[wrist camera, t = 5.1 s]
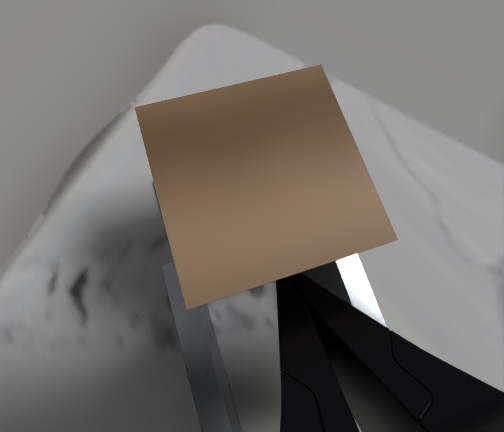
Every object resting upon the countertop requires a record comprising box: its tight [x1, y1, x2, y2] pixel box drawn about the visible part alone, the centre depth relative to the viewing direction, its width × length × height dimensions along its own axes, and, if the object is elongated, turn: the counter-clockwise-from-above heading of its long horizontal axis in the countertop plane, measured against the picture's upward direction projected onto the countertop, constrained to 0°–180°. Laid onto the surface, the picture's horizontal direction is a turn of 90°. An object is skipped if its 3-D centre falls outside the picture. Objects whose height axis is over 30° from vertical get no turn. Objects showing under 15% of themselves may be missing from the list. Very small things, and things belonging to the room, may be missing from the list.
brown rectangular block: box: [135, 65, 398, 310], centre depth 13 cm, size 6×6×10 cm
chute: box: [153, 181, 387, 432], centre depth 16 cm, size 16×9×4 cm, turn 18°
